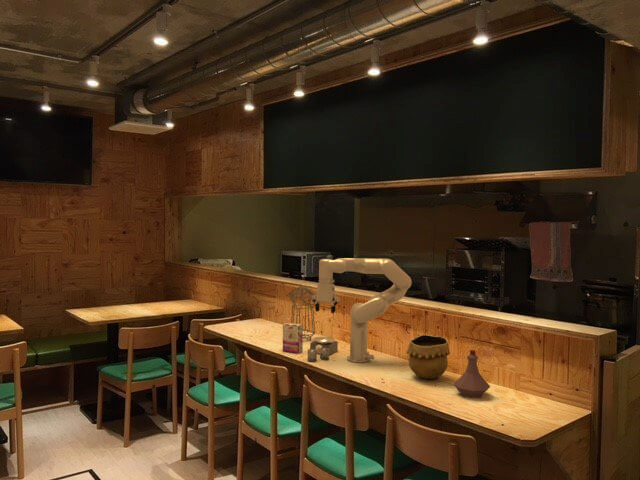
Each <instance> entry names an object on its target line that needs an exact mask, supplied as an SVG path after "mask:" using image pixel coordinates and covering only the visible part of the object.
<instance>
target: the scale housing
mask: <svg viewBox="0 0 640 480" xmlns="http://www.w3.org/2000/svg"><path fill="white" fill-rule="evenodd" d="M309 346H310V347H309V349H316V350H317V355H320V348H322V347H327V348H329V356H331V355H333V354H335V353H337V352H339V350H338V348H339V347H338V346H339V341H337V340H334V342H333V343H317V342H314V340H313V341H312V342H311V341H310V343H309Z"/></svg>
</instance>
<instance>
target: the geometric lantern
mask: <svg viewBox="0 0 640 480" xmlns="http://www.w3.org/2000/svg"><path fill="white" fill-rule="evenodd" d="M308 294H309V295H308ZM314 294H315V292H314V291H312V290H311V289H309V288H308V287H306V286H305V285H302V286H299V287H297V288H295V289H294V290H292V291H290V292H288V293H287V295H288V297H289V298H290V300H291V301H292V302H293V303H292V306H291V317H292V319H291V321H290V323H294V324H301V310H302V309H305V310H304V314H305V315H304V316H305V317H304V329H303V339H305V338H306V339H307V340H305V342H311V341H312V337H313V336H314V335H315V334H316V329H315V327H316V326H314V325H315V316H314V315H315V314H314V311H315V309H314V305H312V304H311V300H312V298H311V296H312V295H314ZM309 298H310V299H309ZM297 299H299V300H300V301H302V304H296V302H297ZM305 299H307V300H305ZM306 302H307V303H306ZM304 303H305V304H304ZM298 306H299V308H298ZM302 306H305V307H302ZM294 309H295V310H296V312H298V315H296V318H295V310H294ZM309 310H310V312H311V313H310V312H309ZM310 314H311V327H312V330H310V328H308V329H306V328H307V320H308V325H310ZM294 318H295V319H296V321H294V320H295V319H294ZM298 318H299V320H298ZM307 318H308V319H307ZM295 322H296V323H295ZM306 331H307V332H306ZM309 332H310V333H312V334H308V333H309Z"/></svg>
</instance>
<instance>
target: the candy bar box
mask: <svg viewBox="0 0 640 480" xmlns="http://www.w3.org/2000/svg"><path fill="white" fill-rule="evenodd" d="M303 330H304V324H301V323H300V324H299V323H297V324H296V323H295V322H294V323H293V322H292V323H291V322H285V323H283V324H282V352H283V353H291V354H297V355H299V354H301V353H303V351H304V350H303V342H304V340H303V338H304V336H303V334H304V331H303Z"/></svg>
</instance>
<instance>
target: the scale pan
mask: <svg viewBox="0 0 640 480" xmlns="http://www.w3.org/2000/svg"><path fill="white" fill-rule="evenodd" d="M313 341H314V342H317V343H333V342H334V341H335V338H334V337H330V336H316V337H314V339H313Z"/></svg>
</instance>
